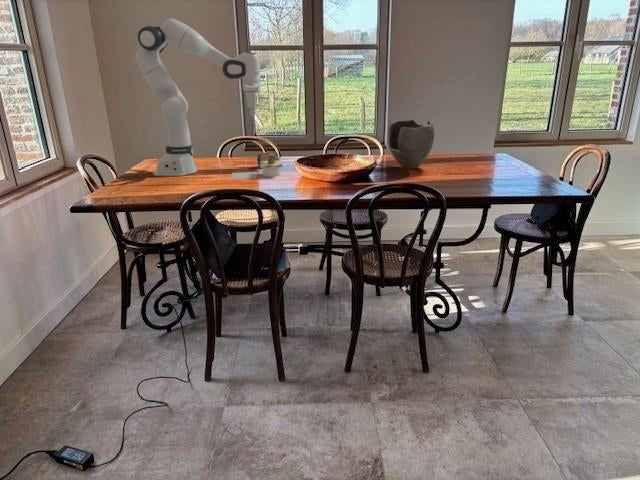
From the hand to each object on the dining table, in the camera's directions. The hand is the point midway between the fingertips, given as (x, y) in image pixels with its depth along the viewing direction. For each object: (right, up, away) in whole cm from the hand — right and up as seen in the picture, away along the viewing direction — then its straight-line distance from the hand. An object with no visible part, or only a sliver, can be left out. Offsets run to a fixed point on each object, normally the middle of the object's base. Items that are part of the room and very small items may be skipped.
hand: (252, 115), depth 237 cm
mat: (-4, -31, 0) cm, 32 cm away
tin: (+6, -24, +20) cm, 32 cm away
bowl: (+10, -31, +2) cm, 32 cm away
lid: (+10, -26, 0) cm, 27 cm away
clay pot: (+83, -26, +13) cm, 88 cm away
